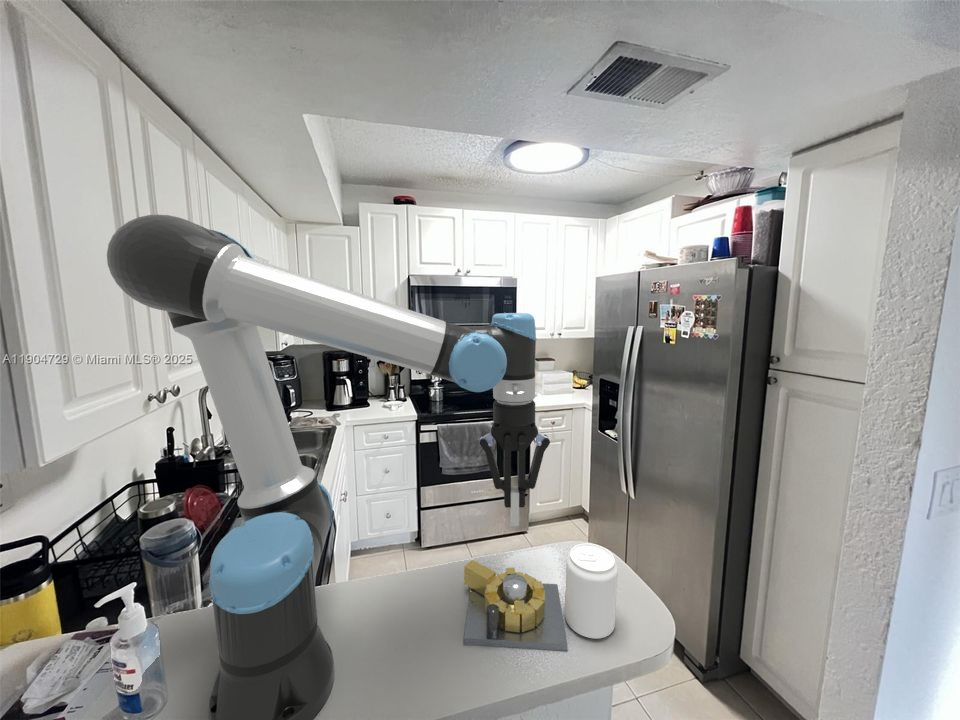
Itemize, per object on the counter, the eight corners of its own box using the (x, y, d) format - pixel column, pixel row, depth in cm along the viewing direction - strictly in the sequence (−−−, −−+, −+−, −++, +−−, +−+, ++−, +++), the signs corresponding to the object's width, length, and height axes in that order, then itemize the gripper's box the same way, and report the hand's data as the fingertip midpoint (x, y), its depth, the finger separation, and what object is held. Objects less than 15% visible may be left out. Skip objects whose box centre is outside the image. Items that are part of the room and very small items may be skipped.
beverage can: (617, 646, 61) (621, 576, 60) (564, 637, 63) (567, 569, 61) (611, 607, 69) (614, 544, 67) (564, 600, 71) (566, 539, 69)
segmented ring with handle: (554, 604, 68) (555, 583, 67) (523, 642, 60) (523, 619, 60) (485, 566, 78) (485, 548, 77) (450, 595, 70) (449, 575, 69)
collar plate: (464, 644, 62) (463, 609, 61) (471, 585, 75) (471, 555, 74) (567, 651, 60) (568, 615, 60) (557, 589, 73) (558, 559, 72)
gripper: (477, 405, 67) (479, 534, 70) (554, 405, 66) (552, 533, 70) (478, 395, 74) (480, 511, 78) (547, 394, 74) (546, 511, 77)
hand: (514, 522), depth 74 cm, fingers closed
